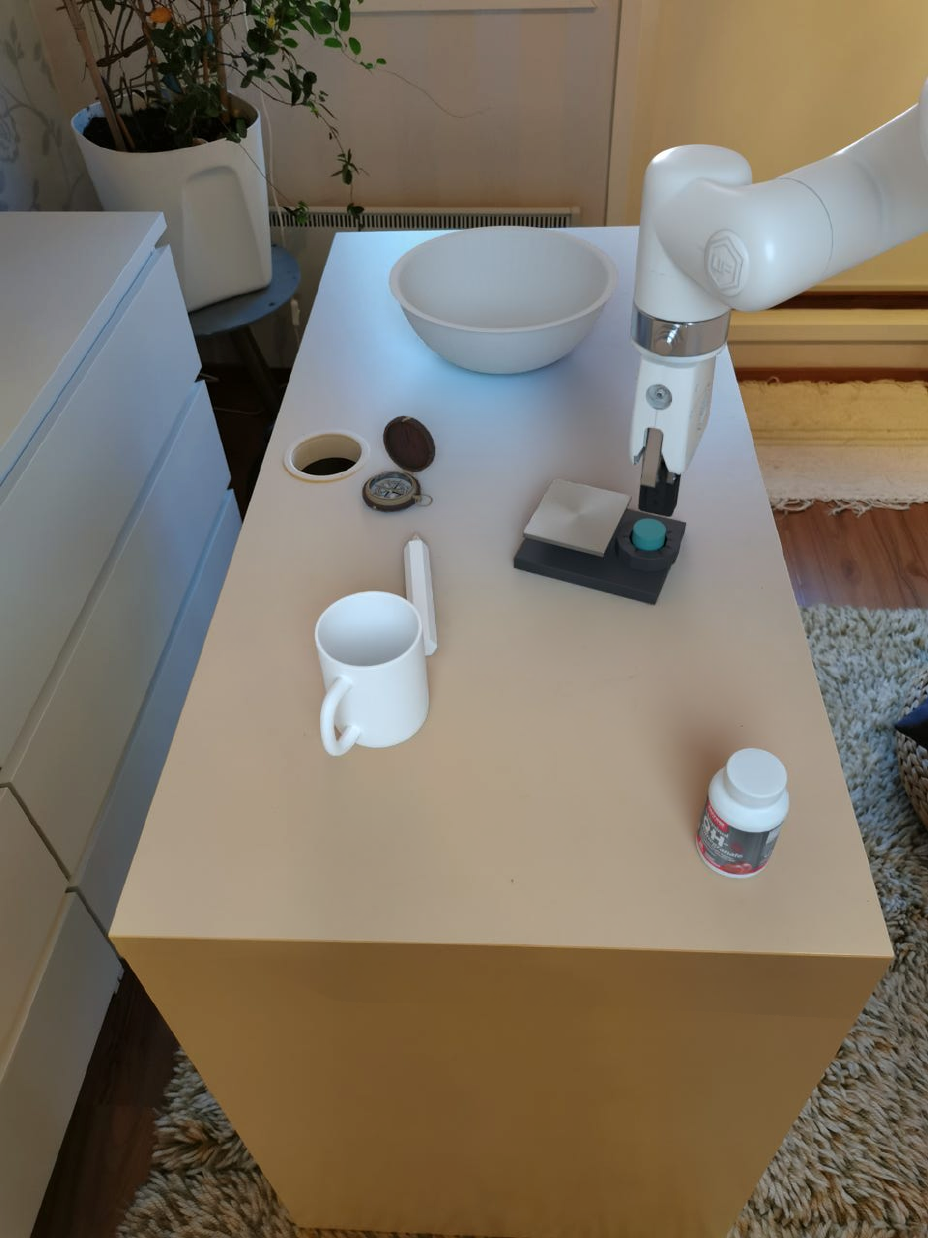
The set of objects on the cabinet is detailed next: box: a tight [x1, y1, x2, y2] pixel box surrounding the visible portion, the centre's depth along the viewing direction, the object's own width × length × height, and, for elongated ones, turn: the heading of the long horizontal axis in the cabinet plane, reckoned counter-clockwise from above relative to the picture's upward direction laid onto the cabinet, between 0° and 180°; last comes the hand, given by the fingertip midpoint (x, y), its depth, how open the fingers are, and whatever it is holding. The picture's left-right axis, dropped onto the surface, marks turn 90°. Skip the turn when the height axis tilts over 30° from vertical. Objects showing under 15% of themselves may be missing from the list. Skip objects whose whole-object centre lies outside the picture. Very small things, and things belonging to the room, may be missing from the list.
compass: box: [361, 415, 436, 513], centre depth 98 cm, size 8×8×7 cm
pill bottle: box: [695, 747, 790, 879], centre depth 67 cm, size 5×5×10 cm
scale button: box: [632, 519, 666, 551], centre depth 90 cm, size 3×3×2 cm
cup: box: [314, 590, 430, 757], centre depth 75 cm, size 8×12×10 cm
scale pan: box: [522, 477, 633, 557], centre depth 92 cm, size 8×9×1 cm
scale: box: [513, 508, 687, 606], centre depth 92 cm, size 14×11×3 cm
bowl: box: [388, 225, 619, 375], centre depth 117 cm, size 27×27×10 cm
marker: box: [403, 531, 438, 657], centre depth 89 cm, size 3×2×16 cm
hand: (657, 508), depth 87 cm, fingers closed
